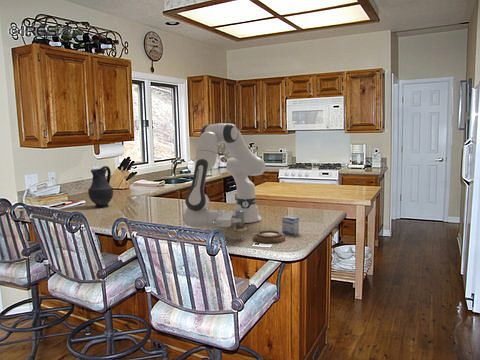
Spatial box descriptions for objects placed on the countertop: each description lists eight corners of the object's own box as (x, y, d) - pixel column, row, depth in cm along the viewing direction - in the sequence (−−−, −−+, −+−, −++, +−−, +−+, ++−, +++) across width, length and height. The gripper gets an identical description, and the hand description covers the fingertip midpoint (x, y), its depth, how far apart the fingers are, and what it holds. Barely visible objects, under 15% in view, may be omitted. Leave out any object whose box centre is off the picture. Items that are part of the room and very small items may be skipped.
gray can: (234, 228, 210) (234, 209, 209) (247, 228, 210) (246, 209, 208) (233, 231, 204) (232, 212, 203) (246, 231, 203) (245, 212, 202)
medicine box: (281, 233, 217) (281, 217, 216) (286, 231, 220) (286, 215, 219) (294, 235, 212) (294, 219, 211) (299, 233, 216) (299, 217, 215)
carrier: (254, 234, 214) (254, 229, 214) (284, 235, 213) (284, 229, 212) (252, 243, 198) (252, 237, 198) (285, 243, 197) (285, 237, 196)
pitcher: (84, 208, 298) (81, 167, 294) (101, 203, 317) (99, 165, 314) (104, 209, 293) (102, 168, 289) (121, 204, 312) (119, 165, 309)
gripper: (211, 217, 197) (239, 217, 195) (217, 208, 217) (243, 208, 215) (211, 229, 198) (239, 229, 196) (217, 220, 218) (243, 219, 216)
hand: (241, 218), depth 206 cm, fingers closed on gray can, 4 cm apart
